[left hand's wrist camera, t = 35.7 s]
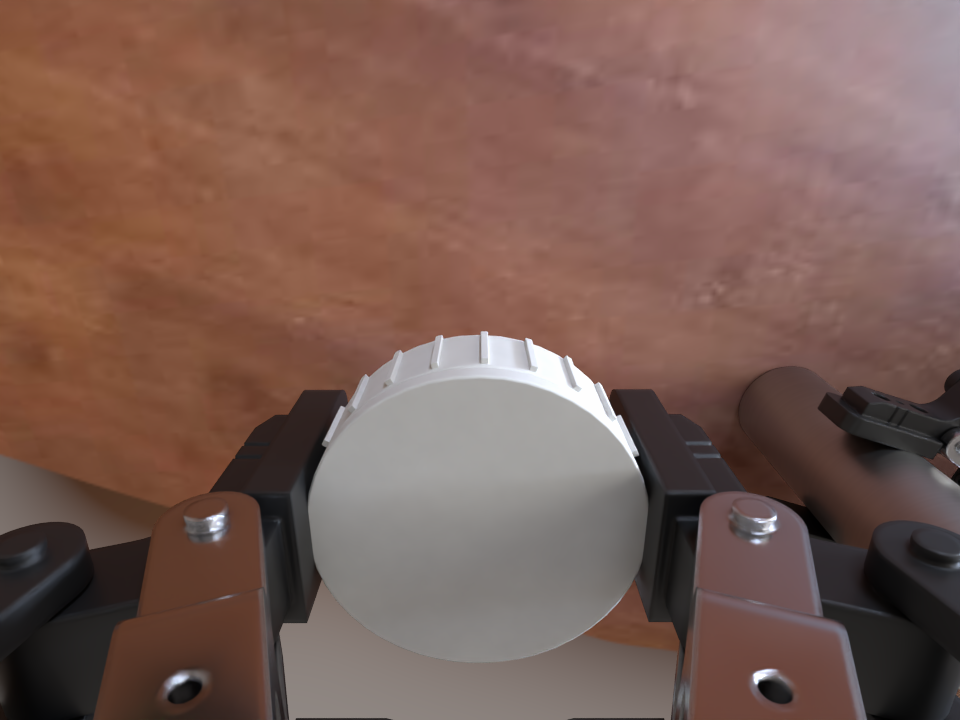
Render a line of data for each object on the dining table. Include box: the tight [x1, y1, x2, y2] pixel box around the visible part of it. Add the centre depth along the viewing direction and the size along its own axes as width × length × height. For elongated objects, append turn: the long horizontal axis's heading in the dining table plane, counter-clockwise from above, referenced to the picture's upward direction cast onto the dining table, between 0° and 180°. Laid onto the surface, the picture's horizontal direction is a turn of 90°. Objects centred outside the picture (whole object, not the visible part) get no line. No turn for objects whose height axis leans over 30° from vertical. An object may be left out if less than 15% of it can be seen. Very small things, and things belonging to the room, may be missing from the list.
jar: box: [739, 366, 960, 689], centre depth 23 cm, size 4×4×16 cm
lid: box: [308, 331, 649, 663], centre depth 10 cm, size 5×5×2 cm
